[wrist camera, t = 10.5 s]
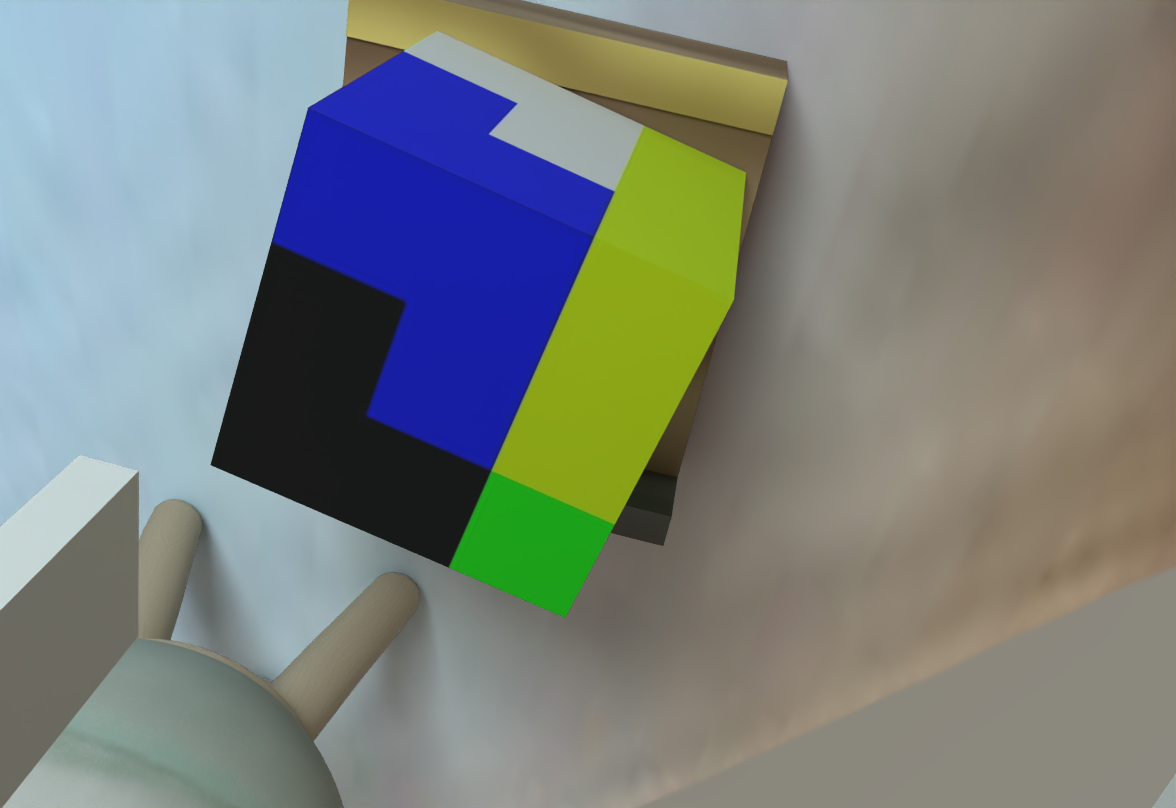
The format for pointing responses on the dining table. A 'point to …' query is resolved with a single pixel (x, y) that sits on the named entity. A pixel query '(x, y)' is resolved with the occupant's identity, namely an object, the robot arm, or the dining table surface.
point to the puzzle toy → (479, 315)
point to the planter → (210, 702)
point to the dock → (628, 87)
